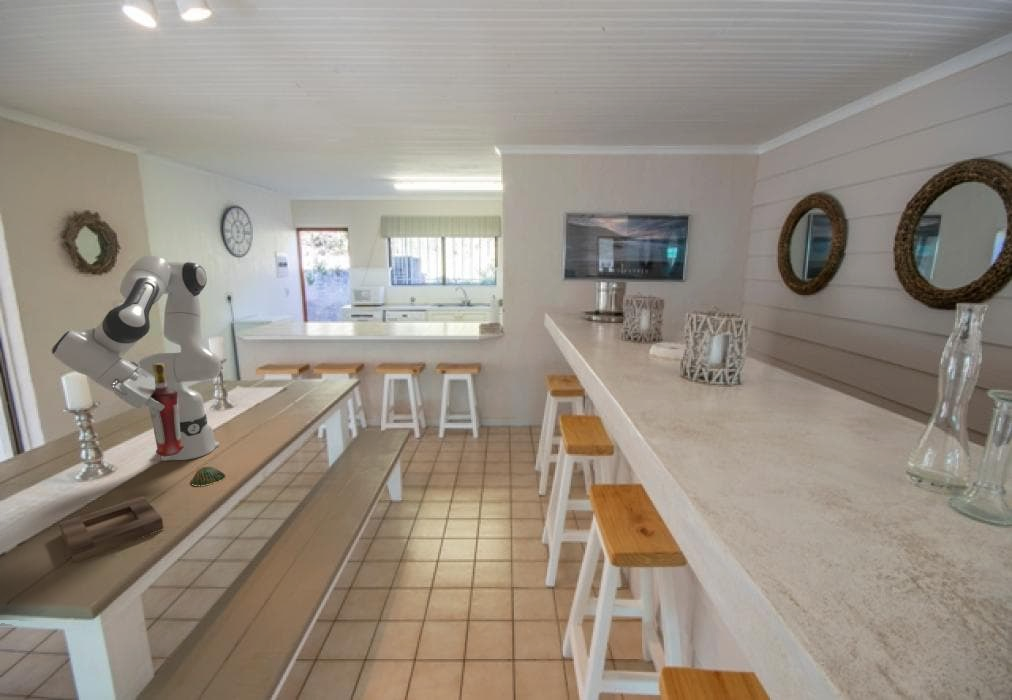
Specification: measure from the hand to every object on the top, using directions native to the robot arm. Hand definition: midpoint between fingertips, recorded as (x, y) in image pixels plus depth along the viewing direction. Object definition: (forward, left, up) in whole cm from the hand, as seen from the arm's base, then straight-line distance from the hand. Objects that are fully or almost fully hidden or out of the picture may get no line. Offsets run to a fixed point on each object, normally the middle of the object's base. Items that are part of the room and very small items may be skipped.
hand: (166, 404), depth 134 cm
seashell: (-5, +10, -31) cm, 33 cm away
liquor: (0, -1, -16) cm, 16 cm away
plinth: (+9, -18, -30) cm, 36 cm away
